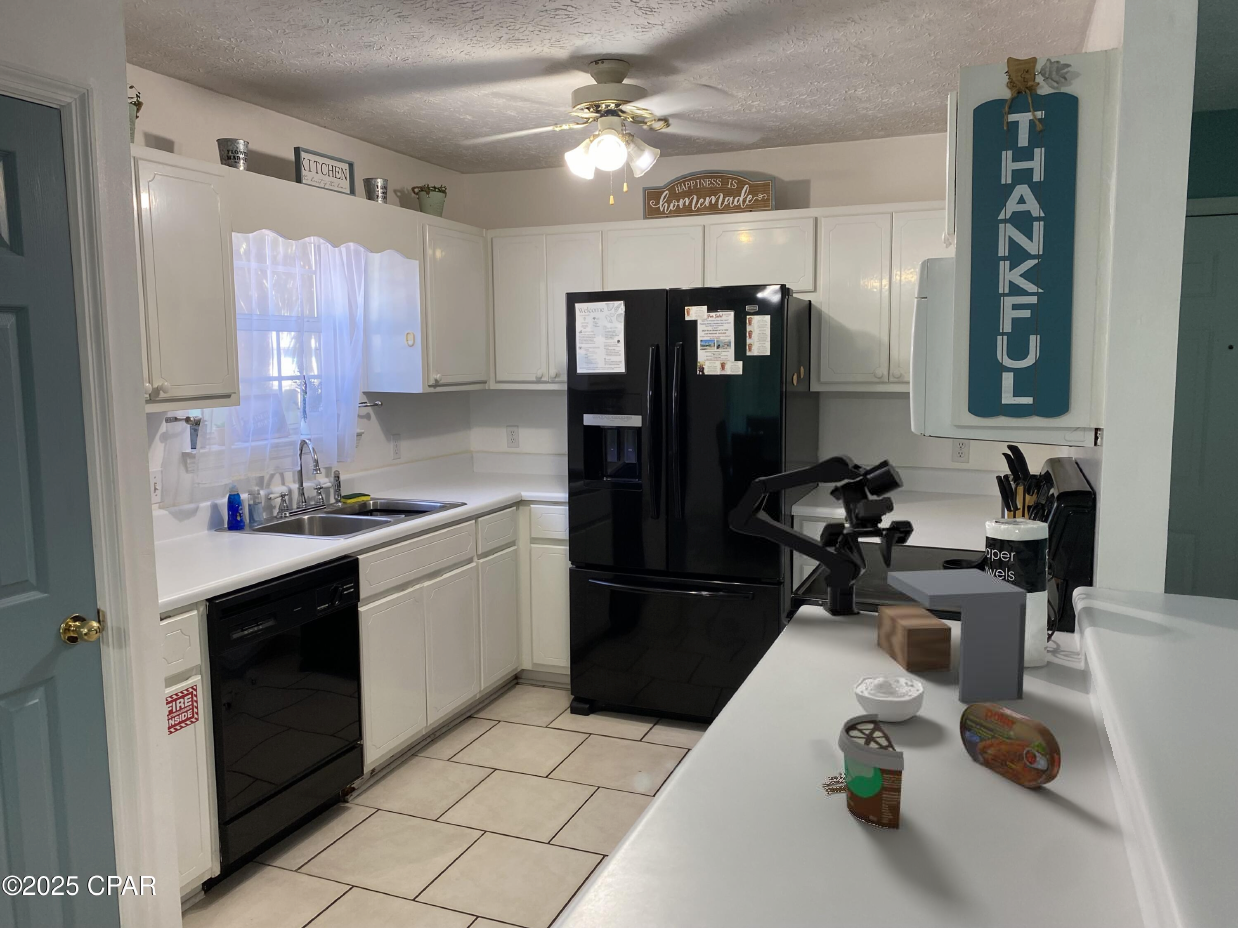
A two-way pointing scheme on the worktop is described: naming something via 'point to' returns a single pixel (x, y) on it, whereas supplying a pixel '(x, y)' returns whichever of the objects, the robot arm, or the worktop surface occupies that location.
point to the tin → (1010, 744)
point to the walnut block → (914, 638)
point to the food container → (871, 771)
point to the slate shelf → (978, 627)
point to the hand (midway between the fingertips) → (877, 567)
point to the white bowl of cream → (889, 697)
